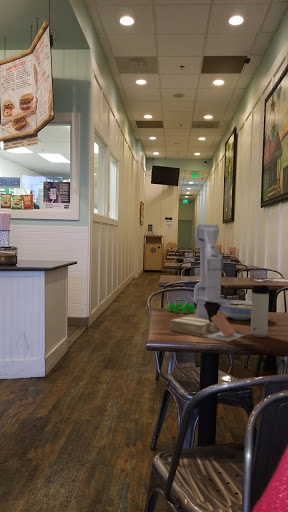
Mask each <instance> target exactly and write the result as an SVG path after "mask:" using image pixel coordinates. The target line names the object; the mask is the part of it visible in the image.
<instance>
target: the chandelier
mask: <svg viewBox="0 0 288 512" xmlns="http://www.w3.org/2000/svg"><path fill="white" fill-rule="evenodd" d="M179 300H180V302H178V303H177V304H176V303H175V302H170V303H169V304H168V305H167V306H166V309H167V311H168V312H169V311H170V312H172V311H173V313H174V314H175V313H176V314H177V313H178V312H179V311H181V313H182V314H183V315H184V314H186V313H188V314H190V313H191V314H193V313H194V312H195V311H197V306H196V305H195V304H194V303H188V302H186V303H184V305H183V301H184V300H185V298H179Z"/></svg>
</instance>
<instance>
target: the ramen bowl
mask: <svg viewBox="0 0 288 512" xmlns="http://www.w3.org/2000/svg"><path fill="white" fill-rule="evenodd" d="M230 300H231V305H230V306H226V305H221V307H220V308H219V311H221V312H222V314H224V315H225V316H227V317H229V318H231V319H233V320H236V321H248V320H249V319H250V320H251V310H252V301H249V300H238V299H237V300H232V299H230ZM270 307H271V305H268V308H270Z"/></svg>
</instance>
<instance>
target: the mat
mask: <svg viewBox="0 0 288 512" xmlns="http://www.w3.org/2000/svg"><path fill="white" fill-rule="evenodd" d="M245 336H246V334H245V333H238V332H236V333H234V334H233V335H231V336H229V337H225V336H224V335H223V333H222V332H221V331H220V330H219V329H217V331H214V332H211V333H208V334H205V335H202V336H201V337H203V338H208V339H213V340H217V341H223V342H228V343H229V342H231V341H234V340H236V339H239V338H242V337H245Z"/></svg>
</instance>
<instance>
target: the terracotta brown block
mask: <svg viewBox="0 0 288 512" xmlns="http://www.w3.org/2000/svg"><path fill="white" fill-rule="evenodd" d="M211 320H212V321H213V322H214V324H215V325H216V326H217V330H220V331H221V332H222V333H223V335H224V336H225V337H229V336H231V335H233V334H234V333H237V330H235V328H234V327H233V326H232V325H231V323H230V322H229V321H228V320H227V319H226V318H225V316H224V315H223V313H219V314H218V313H217V315H214V316H213V317H212V318H211Z"/></svg>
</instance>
